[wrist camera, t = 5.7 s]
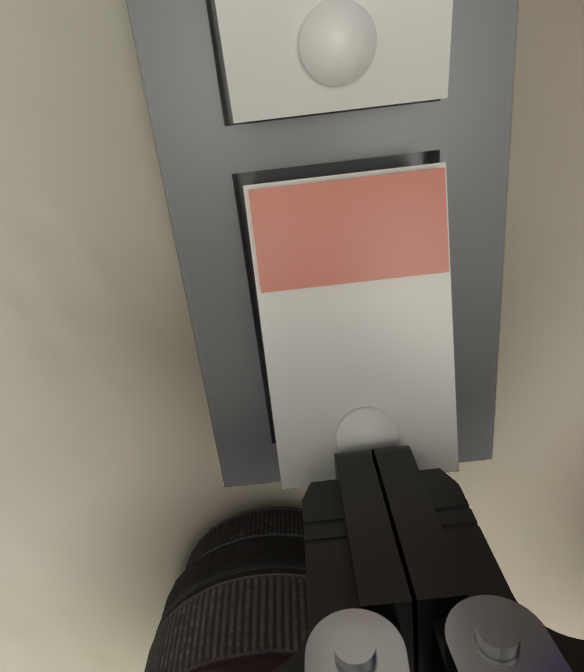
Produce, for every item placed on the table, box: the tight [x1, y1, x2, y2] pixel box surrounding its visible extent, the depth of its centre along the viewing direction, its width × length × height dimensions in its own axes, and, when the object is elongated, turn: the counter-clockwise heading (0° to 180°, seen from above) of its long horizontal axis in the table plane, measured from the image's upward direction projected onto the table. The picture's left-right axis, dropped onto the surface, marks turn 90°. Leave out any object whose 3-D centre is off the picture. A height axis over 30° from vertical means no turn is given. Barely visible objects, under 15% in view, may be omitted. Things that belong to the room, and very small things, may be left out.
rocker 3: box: [243, 162, 459, 490], centre depth 11 cm, size 6×4×2 cm, turn 6°
